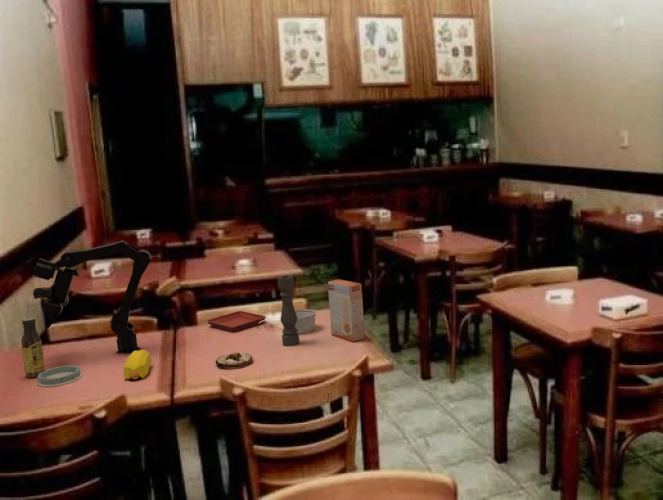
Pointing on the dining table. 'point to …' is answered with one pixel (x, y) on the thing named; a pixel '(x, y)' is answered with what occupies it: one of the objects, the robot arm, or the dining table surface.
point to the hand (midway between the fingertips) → (49, 324)
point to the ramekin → (305, 320)
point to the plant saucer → (236, 321)
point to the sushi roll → (234, 360)
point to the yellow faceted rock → (137, 365)
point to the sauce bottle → (32, 349)
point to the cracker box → (346, 310)
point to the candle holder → (288, 311)
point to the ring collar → (59, 376)
